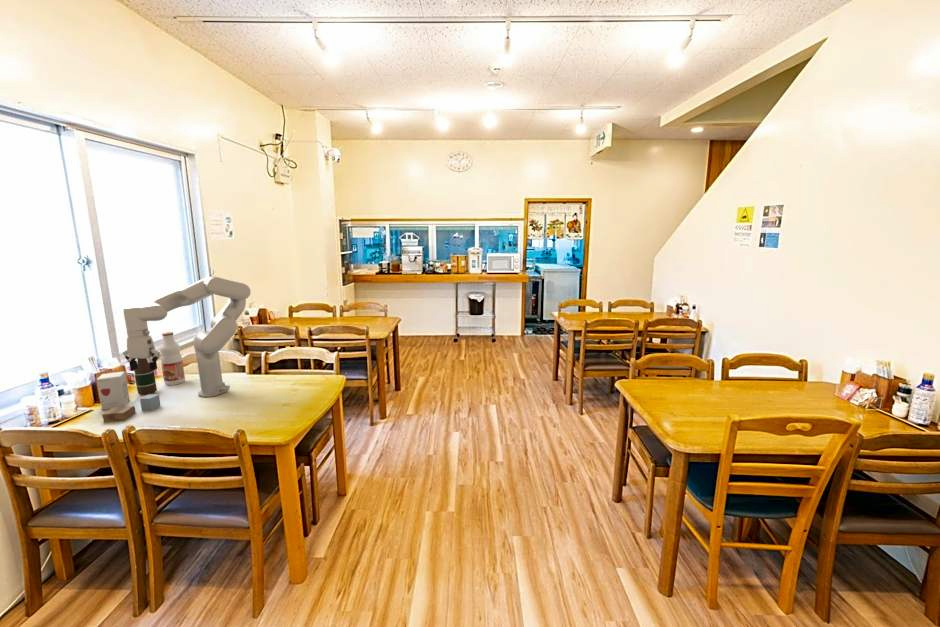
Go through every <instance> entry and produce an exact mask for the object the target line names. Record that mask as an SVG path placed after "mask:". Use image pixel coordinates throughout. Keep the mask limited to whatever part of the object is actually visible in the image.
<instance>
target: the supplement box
mask: <svg viewBox="0 0 940 627" xmlns="http://www.w3.org/2000/svg"><path fill="white" fill-rule="evenodd" d="M96 384H97V390H98V391H97V392H98V395H99V400H100V406H101V410H111V409H112V408H114V407H122V406H128V405H127V404H128V403H129V402H130V400H131V399H130V393H129V387H128V382H127V375H126V371H117V372H109V373H102V374H101V375H100V376H98V377H97V378H96Z"/></svg>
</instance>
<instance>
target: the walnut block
mask: <svg viewBox="0 0 940 627" xmlns="http://www.w3.org/2000/svg"><path fill="white" fill-rule="evenodd" d="M136 414H137V412H136V407H135V405H126V406H122V407H114V408H110V409H108V410H107V411H106V412H104V413H102V414H101V416H102V421H103V423H112V422H113V423H114V422H115V423H117V422H125V421H126V420H128V419H130V418H131V417H133V416H134V415H136Z"/></svg>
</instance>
